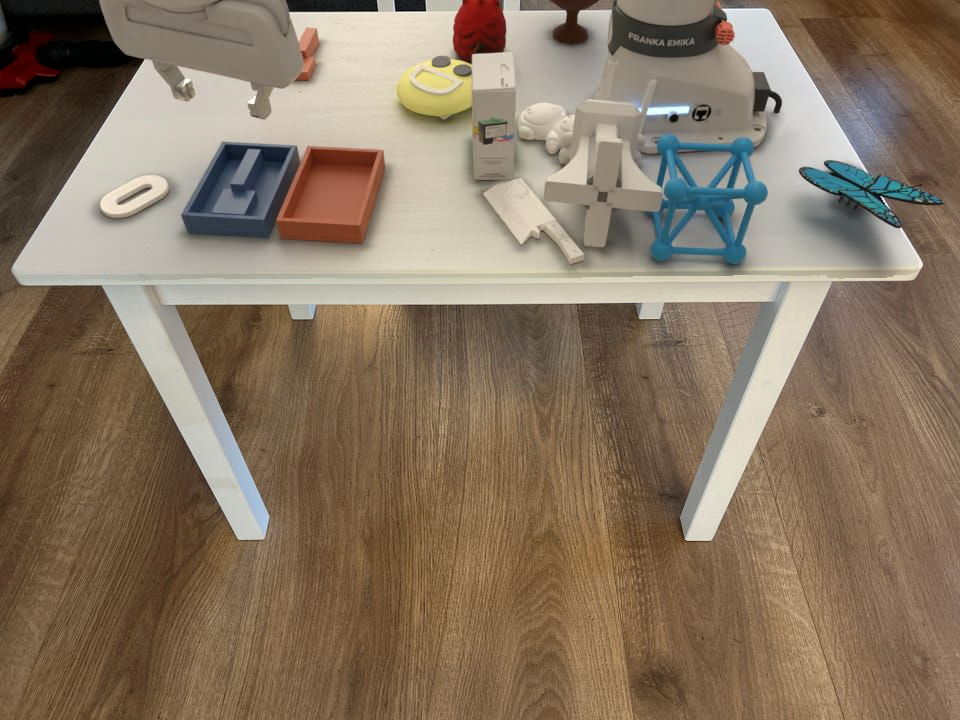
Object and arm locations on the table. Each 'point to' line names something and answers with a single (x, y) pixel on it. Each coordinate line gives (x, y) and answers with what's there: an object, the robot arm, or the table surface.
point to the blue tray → (268, 189)
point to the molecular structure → (705, 198)
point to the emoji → (437, 87)
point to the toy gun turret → (603, 164)
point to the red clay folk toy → (479, 29)
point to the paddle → (242, 187)
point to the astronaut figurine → (545, 124)
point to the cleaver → (529, 216)
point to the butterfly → (866, 189)
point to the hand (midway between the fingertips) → (223, 106)
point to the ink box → (493, 115)
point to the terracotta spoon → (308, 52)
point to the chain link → (132, 207)
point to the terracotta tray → (332, 195)
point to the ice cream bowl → (572, 21)
